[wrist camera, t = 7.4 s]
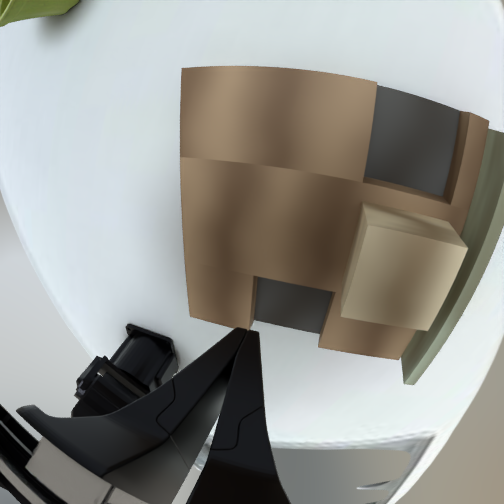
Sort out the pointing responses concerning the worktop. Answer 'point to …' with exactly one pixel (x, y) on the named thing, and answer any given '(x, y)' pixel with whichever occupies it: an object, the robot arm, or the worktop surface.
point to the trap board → (323, 198)
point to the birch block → (399, 267)
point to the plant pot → (32, 9)
